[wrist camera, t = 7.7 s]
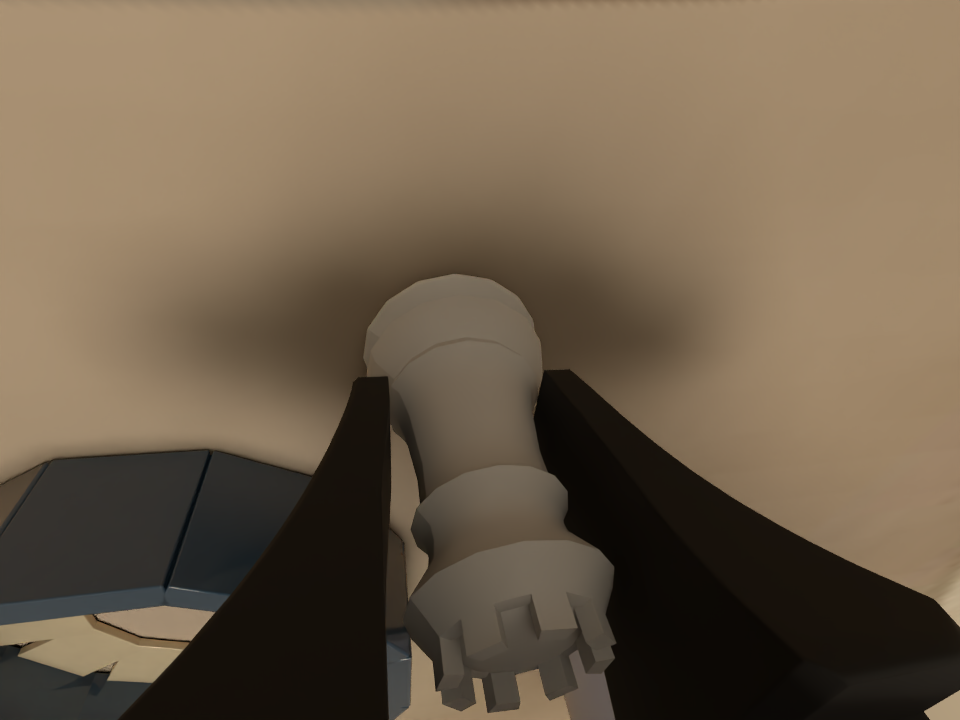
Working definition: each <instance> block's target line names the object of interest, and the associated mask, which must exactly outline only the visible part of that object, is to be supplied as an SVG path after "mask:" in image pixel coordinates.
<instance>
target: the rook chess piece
mask: <svg viewBox="0 0 960 720" xmlns="http://www.w3.org/2000/svg"><path fill="white" fill-rule="evenodd" d="M363 359H364V362H365V364H366V367H367V376H366V377H381V376H388V381H389V394H390V424H391V425H392V428H393V430H394V432H395V433H396V434H398V435H399V436H400V437H401V438H402V439H403V440H404V441H405V442H406V443H407V445H408V448H409V451H410V455H411V458H412V462H413V465H414V469H415V473H416V476H417V480H418V488H419V497H420V505H419V506H418V508H417V509H416V512H415V516H414V519H413V523H412V526H411V532H412V534H413V537H414V539H415V542H416V544H417V547H418V548H420V549H421V550H422V551H424V552H425V553H426V554H427V555H428V557H429V564H428V569H427V570H426V572H425V574H424V575H423V577H422V579H421V580H420V582H419V583H418V585H417V587H416V588H415V590H414V592H413V593H412V595H411V597H410V599H409V602H408V605H407V608H406V611H405V614H404V617H403V620H402V622H403V623H404V625H405V627H406V629H407V631H408V633H409V635H410V637H411V639H412V640H413V641H414V642H415V643H416V644H417V645H418V646H419V648H420V649H421V650H422V651H423V652H424V653H425V654H426V655H427V656H428V657H429V658H430V659H431V660H432V661H433V668H434V678H435V688H436V691H441V694H442V704H443V705H446V706H448V707H451V708H454V709H456V710H459V711H463V710H465V709H466V708H468V707H470V706H472V705H474V704H476V700H475V694H474V687H473V681H472V678H480V679H482V682H483V688H484V694H485V700H486V706H487V712H488V713H491V712H499V711H507V710H515V709H519V706H520V702H521V701H520V697H519V692H518V687H517V683H516V678H515V675H516V674H519V673H523V672H527V671H531V670H535V669H538V668H539V672H540V676H541V680H542V684H543V687H544V691H545V695H546V696H547V698H548V699H549V700H552V699H555V698H557V697H560V696H562V695H564V694H567V693H569V692H571V691H574V690H576V689H578V685H577V681H576V678H575V675H574V672H573V668H572V665H571V662H570V658H569V655H570V654H572V653H573V652H575V651H576V650H578V652H579V655H580V658H581V661H582V664H583V667H584V670H585V673H586V674H602V672H603V671H604V670H605V669H606V668H607V667H608V666H609V664H610V663H611V662H612V661H613V660H614V659H615V657H614V654H613V651H612V649H611V645H614V644H616V641H615V638H614V636H613V633H612V631H611V628H610V625H609V623H608V620H607V618H606V615H605V614H606V611H607V607H608V603H609V600H610V596H611V592H612V589H613V579H614V566H613V565H612V564H611V563H610V561H609V560H608V559H607V558H606V557H605V556H604V554H603V553H602V552H601V551H600V550H599V549H597V548H596V547H594V546H592V545H591V544H589V543H587V542H586V541H584V540H582V539H581V538H579V537H577V536H576V535H574V534H572V533H571V532H569V531H568V530H567V528H566V526H565V525H564V518H565V516H566V513H567V511H568V491H567V490H566V489H565V488H564V486H563V485H562V484H561V483H560V481H559V480H558V479H557V478H556V477H555V476H554V475H552V474H550V473H548V472H547V469H546V466H545V464H544V461H543V458H542V456H541V453H540V449H539V444H538V439H537V434H536V429H535V424H534V419H533V413H532V411H533V409H534V406H535V404H536V402H537V399H538V391H537V390H538V388H539V385H540V383H541V381H542V377H543V372H542V355H541V341H540V339H539V338H538V336H537V335H536V333H535V331H534V321H533V319H532V317H531V316H530V314H529V313H528V311H527V309H526V308H525V306H524V305H523V303H522V301H521V300H520V298H519V297H518V296H517V295H515V294H514V293H512V292H511V291H509V290H507V289H506V288H504V287H503V286H501V285H499V284H498V283H496V282H494V281H493V280H491V279H486V278H480V277H474V276H467V275H461V274H451V275H446V276H441V277H436V278H431V279H427V280H422V281H417V282H416V283H414V284H413V285H411V286H410V287H408V288H406V289H405V290H403V291H402V292H400V293H398V294H397V295H395V296H394V297H392V298H391V299H389V300H387V301H386V303H385V304H384V305H383V307H382V308H381V310H380V311H379V313H378V314H377V315H376V317H375V318H374V320H373V321H372V323H371V324H370V326H369V327H368V328H367V335H366V342H365V348H364V355H363Z"/></svg>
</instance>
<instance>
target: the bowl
mask: <svg viewBox="0 0 960 720" xmlns="http://www.w3.org/2000/svg"><path fill="white" fill-rule="evenodd" d="M311 479H312V477H310V476H307V475H303V474H299V473H296V472H292V471H288V470H285V469H281V468H277V467H274V466H270V465H266V464H262V463H259V462H255V461H251V460H248V459H244V458H240V457H237V456H233V455H229V454H226V453H222V452H218V451H213V452H212V454H211V455H210V452H209V450H199V451H184V452H168V453H152V454H136V455H121V456H105V457H89V458H73V459H58V460H52V461H51V463H44V464H42V465H40V466H38V467H36V468H34V469H32V470H30V471H28V472H26V473H24V474H22V475H20V476H18V477H16V478H14V479H13V480H11V481H9V482H7V483H5V484H3V485H1V486H0V720H118V719H119V718H120V717H121V715H122V714H123V713H124V712H125V711H126V710H127V709H128V708H129V707H130V706H131V705H132V704H133V703H134V702H135V701H136V700H137V699H138V698H139V697H140V695H141V694H142V693H143V692H144V691H145V690H146V689H147V688H148V687H149V686H150V685H151V684H152V683H153V682H154V681H155V680H156V679H157V678H158V677H159V676H160V674H161V673H162V672H163V671H164V670H165V669H166V668H167V667H168V666H169V665H170V664H171V663H172V662H173V661H174V660H175V659H176V657H177V656H178V655H179V654H180V653H181V652H182V651H183V650H184V649H185V647H186V646H187V645H188V644H189V643H188V642H177V641H166V640H155V639H145V638H139V637H137V636H134V635H132V634H129V633H127V632H124V631H122V630H119V629H117V628H114V627H111V626H109V625H106V624H104V623H101V622H99V621H97V620H96V619H95V618H94V616H93V615H92V614H100V613H108V612H116V611H124V610H132V609H141V608H149V607H157V606H172V607H180V608H188V609H196V610H204V611H212V612H216V611H217V610H218V609H219V608H220V607H221V605H222V604H223V603H224V602H225V601H226V600H227V598H228V597H229V596H230V595H231V594H232V592H233V591H234V590H235V589H236V587H237V586H238V585H239V584H240V582H241V581H242V580H243V579H244V577H245V576H246V575H247V573H248V572H249V571H250V570H251V568H252V567H253V566H254V564H255V563H256V561H257V560H258V559H259V557H260V556H261V555H262V553H263V552H264V551H265V549H266V548H267V547H268V545H269V544H270V542H271V541H272V540H273V538H274V537H275V536H276V534H277V533H278V531H279V530H280V528H281V527H282V525H283V524H284V522H285V521H286V519H287V518H288V516H289V515H290V513H291V512H292V510H293V509H294V507H295V506H296V504H297V502H298V501H299V499H300V497H301V496H302V494H303V493H304V491H305V489H306V488H307V486H308V484H309V482H310V480H311ZM407 605H408V592H407V577H406V562H405V548H404V542H403V541H402V539H401V538H400V537H398V536H397V535H396V534H395V533H394V532H393V531H392V530H391V529H390V528H389V539H388V558H387V576H386V640H387V672H388V705H389V720H394V719H395V718H397V717H398V716H399V715H400V714H402V713H403V712H404V711H405V710H406V709H408V708H409V706H410V701H411V670H412V651H411V637H410V635H409V633H408V631H407V629H406V627H405V625H404V623H403V622H402V620H403V617H404V614H405V611H406V608H407ZM27 642H33V643H31V644H29V645H27V646H24V647H22V648H21V649H20V648H17V647H14V646H11V645H12V644H19V643H27ZM115 662H116V663H115ZM113 663H115V664H114V666H113V668H112V669H111V671H110V673H95V671H97V670H99V669H101V668H104V667H106V666H108V665H110V664H113Z"/></svg>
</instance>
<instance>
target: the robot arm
mask: <svg viewBox="0 0 960 720" xmlns="http://www.w3.org/2000/svg"><path fill="white" fill-rule="evenodd" d="M533 419H534V424H535V429H536V434H537V439H538V444H539V449H540V453H541V456H542V458H543V461H544V464H545V466H546V469H547V472H548V473H550V474H552V475H554V476H555V477H556V478H557V479H558V480H559V481H560V483H561V484H562V485H563V486H564V488H565V489H566V490H567V491H568V511H567V513H566V516H565V518H564V525H565V526H566V528H567V530H568V531H569V532H571V533H572V534H574V535H576V536H577V537H579V538H581V539H582V540H584V541H586V542H587V543H589V544H591V545H592V546H594V547H596V548H597V549H599V550H600V551H601V552H602V553H603V554H604V556H605V557H606V558H607V559H608V560H609V561H610V563H611V564H612V565H613V566H614V579H613V589H612V592H611V596H610V600H609V603H608V607H607V611H606V614H605V615H606V618H607V620H608V623H609V625H610V628H611V631H612V633H613V636H614V638H615V641H616V644H614V645H611V649H612V651H613V654H614V657H615V659H614V660H613V661H612V662H611V663H610V664H609V666H608V667H607V668H606V669H605V670H604V671H603V672H602V674H586V673H585V670H584V667H583V664H582V661H581V658H580V655H579V652H578V650H576V651H575V652H573V653H572V654H570V655H569V658H570V662H571V665H572V668H573V672H574V675H575V678H576V681H577V685H578V689H576V690H574V691H571V692H569V693H567V694H564V697H565V701H566V705H567V708H568V712H569V715H570V719H571V720H930V719H929V718H928V717H927V715H926V714H925V713H924V711H925V710H927V709H928V708H930V707H932V706H934V705H935V704H937V703H939V702H940V701H942V700H944V699H945V698H947V697H948V696H950V695H952V694H954V693H955V692H957V691H959V690H960V627H959V626H958V625H957V623H956V622H955V621H954V620H953V619H952V618H951V617H950V616H949V615H948V614H947V613H946V612H945V610H944V609H943V608H942V607H941V606H940V605H939V604H938V603H937V602H936V601H935V600H934V599H932V598H930V597H928V596H926V595H923V594H921V593H919V592H917V591H914V590H912V589H910V588H908V587H905V586H903V585H901V584H898V583H896V582H894V581H892V580H889V579H887V578H885V577H883V576H880V575H878V574H876V573H874V572H871V571H869V570H867V569H865V568H862V567H860V566H858V565H856V564H854V563H852V562H849V561H847V560H845V559H843V558H841V557H839V556H837V555H835V554H833V553H831V552H829V551H827V550H825V549H823V548H821V547H819V546H817V545H815V544H813V543H811V542H809V541H807V540H806V539H804V538H802V537H800V536H798V535H796V534H794V533H793V532H791V531H789V530H787V529H785V528H783V527H781V526H780V525H778V524H776V523H774V522H773V521H771V520H769V519H768V518H766V517H764V516H762V515H761V514H759V513H757V512H755V511H754V510H752V509H750V508H749V507H747V506H745V505H744V504H742V503H740V502H739V501H737V500H735V499H734V498H732V497H731V496H729V495H727V494H726V493H724V492H723V491H721V490H720V489H718V488H717V487H715V486H714V485H712V484H711V483H709V482H708V481H706V480H705V479H703V478H702V477H700V476H699V475H697V474H696V473H695V472H693V471H692V470H690V469H689V468H688V467H686V466H685V465H683V464H682V463H681V462H679V461H678V460H677V459H675V458H674V457H673V456H672V455H670V454H669V453H668V452H666V451H665V450H664V449H662V448H661V447H660V446H658V445H657V444H656V443H655V442H653V441H652V440H651V439H650V438H648V437H647V436H646V435H645V434H644V433H642V432H641V431H640V430H639V429H638V428H636V427H635V426H634V425H633V424H632V423H630V422H629V421H628V420H627V419H626V418H625V417H623V416H622V415H621V414H620V413H619V412H618V411H617V410H615V409H614V408H613V407H612V406H611V405H610V404H609V403H608V402H606V401H605V400H604V399H603V398H602V397H601V396H600V395H599V394H597V393H596V392H595V391H594V390H593V389H592V388H591V387H590V386H588V385H587V384H586V383H585V382H584V381H583V380H582V379H581V378H579V377H578V376H577V375H576V374H575V373H574V372H572V371H571V370H570V369H565V370H544V373H543V377H542V382H541V387H540V391H539V396H538V400H537V405H536V409H535V414H534V418H533ZM390 502H391V442H390V394H389V381H388V376H381V377H358V378H357V379H356V380H355V381H354V382H353V385H352V390H351V393H350V397H349V400H348V403H347V406H346V408H345V411H344V414H343V416H342V418H341V421H340V423H339V426H338V428H337V430H336V432H335V434H334V436H333V438H332V441H331V443H330V445H329V447H328V449H327V451H326V453H325V455H324V457H323V459H322V461H321V462H320V464H319V466H318V468H317V470H316V471H315V473H314V475H313V477H312V479H311V480H310V482H309V484H308V486H307V488H306V489H305V491H304V493H303V494H302V496H301V497H300V499H299V501H298V502H297V504H296V506H295V507H294V509H293V510H292V512H291V513H290V515H289V516H288V518H287V519H286V521H285V522H284V524H283V525H282V527H281V528H280V530H279V531H278V533H277V534H276V536H275V537H274V538H273V540H272V541H271V542H270V544H269V545H268V547H267V548H266V549H265V551H264V552H263V553H262V555H261V556H260V557H259V559H258V560H257V561H256V563H255V564H254V566H253V567H252V568H251V570H250V571H249V572H248V573H247V575H246V576H245V577H244V579H243V580H242V581H241V582H240V584H239V585H238V586H237V587H236V589H235V590H234V591H233V592H232V594H231V595H230V596H229V597H228V598H227V600H226V601H225V602H224V603H223V604H222V605H221V607H220V608H219V609H218V610H217V611H216V612H215V614H214V615H213V616H212V617H211V618H210V619H209V621H208V622H207V623H206V624H205V625H204V627H203V628H202V629H201V630H200V631H199V632H198V634H197V635H196V636H195V637H194V638H193V639H192V641H191V642H190V643H189V644H188V645H187V646H186V647H185V649H184V650H183V651H182V652H181V653H180V654H179V655H178V656H177V657H176V659H175V660H174V661H173V662H172V663H171V664H170V665H169V666H168V667H167V668H166V669H165V670H164V671H163V672H162V673H161V674H160V676H159V677H158V678H157V679H156V680H155V681H154V682H153V683H152V684H151V685H150V686H149V687H148V688H147V689H146V690H145V691H144V692H143V693H142V694H141V695H140V697H139V698H138V699H137V700H136V701H135V702H134V703H133V704H132V705H131V706H130V707H129V708H128V709H127V710H126V711H125V712H124V713H123V714H122V715H121V717H120V718H119V719H118V720H389V705H388V672H387V640H386V576H387V558H388V539H389V521H390Z"/></svg>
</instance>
